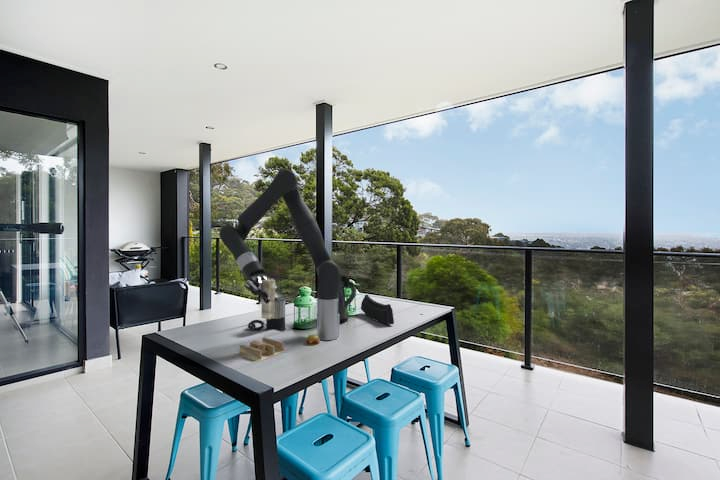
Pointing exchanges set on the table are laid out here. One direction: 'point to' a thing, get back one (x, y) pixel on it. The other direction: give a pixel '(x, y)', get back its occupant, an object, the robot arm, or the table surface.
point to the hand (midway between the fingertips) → (272, 301)
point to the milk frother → (276, 322)
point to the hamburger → (313, 339)
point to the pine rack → (256, 354)
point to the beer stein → (341, 301)
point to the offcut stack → (259, 346)
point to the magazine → (377, 310)
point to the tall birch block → (269, 308)
